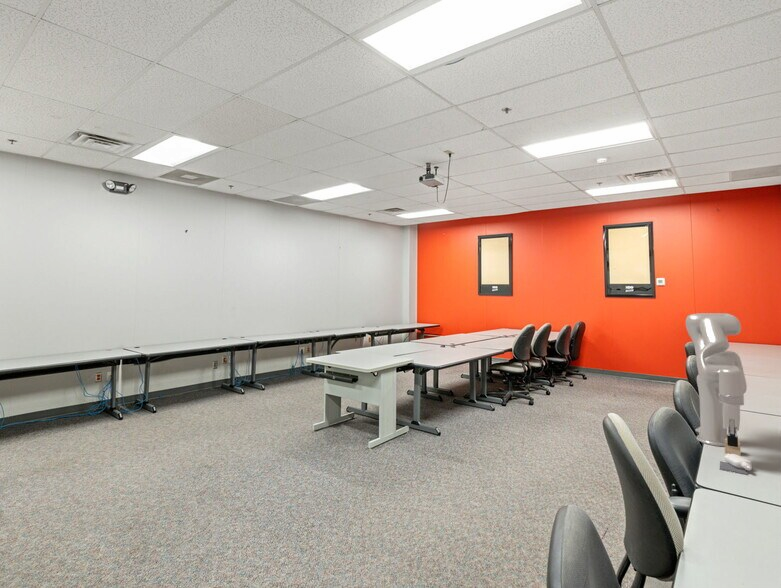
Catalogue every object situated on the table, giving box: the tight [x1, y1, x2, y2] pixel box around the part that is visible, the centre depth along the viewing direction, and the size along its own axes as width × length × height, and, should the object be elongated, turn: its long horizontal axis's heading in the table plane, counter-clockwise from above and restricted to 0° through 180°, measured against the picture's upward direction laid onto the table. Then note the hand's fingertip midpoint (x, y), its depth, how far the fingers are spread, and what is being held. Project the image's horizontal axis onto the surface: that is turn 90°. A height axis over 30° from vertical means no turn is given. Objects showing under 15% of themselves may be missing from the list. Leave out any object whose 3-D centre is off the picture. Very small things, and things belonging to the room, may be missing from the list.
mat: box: [719, 460, 748, 476], centre depth 156 cm, size 9×8×1 cm
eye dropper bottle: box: [724, 453, 753, 472], centre depth 156 cm, size 4×6×12 cm
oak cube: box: [724, 438, 742, 456], centre depth 172 cm, size 5×5×5 cm
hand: (732, 445), depth 162 cm, fingers closed
